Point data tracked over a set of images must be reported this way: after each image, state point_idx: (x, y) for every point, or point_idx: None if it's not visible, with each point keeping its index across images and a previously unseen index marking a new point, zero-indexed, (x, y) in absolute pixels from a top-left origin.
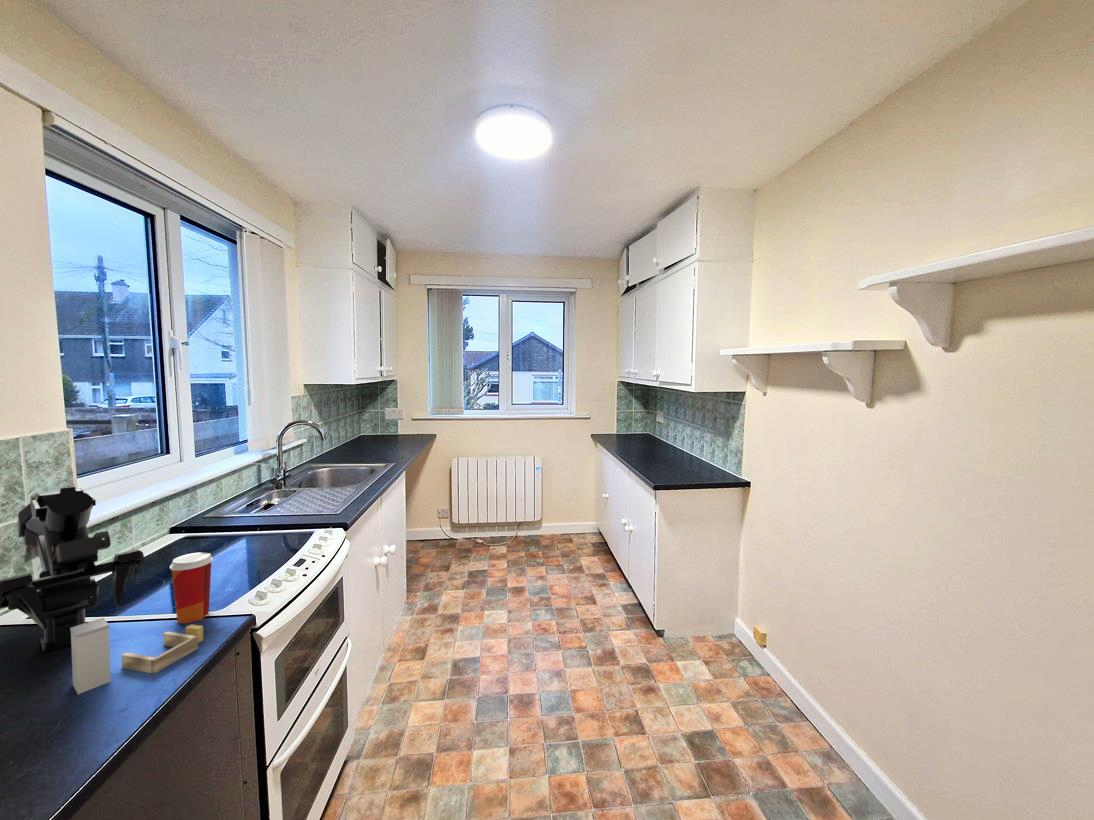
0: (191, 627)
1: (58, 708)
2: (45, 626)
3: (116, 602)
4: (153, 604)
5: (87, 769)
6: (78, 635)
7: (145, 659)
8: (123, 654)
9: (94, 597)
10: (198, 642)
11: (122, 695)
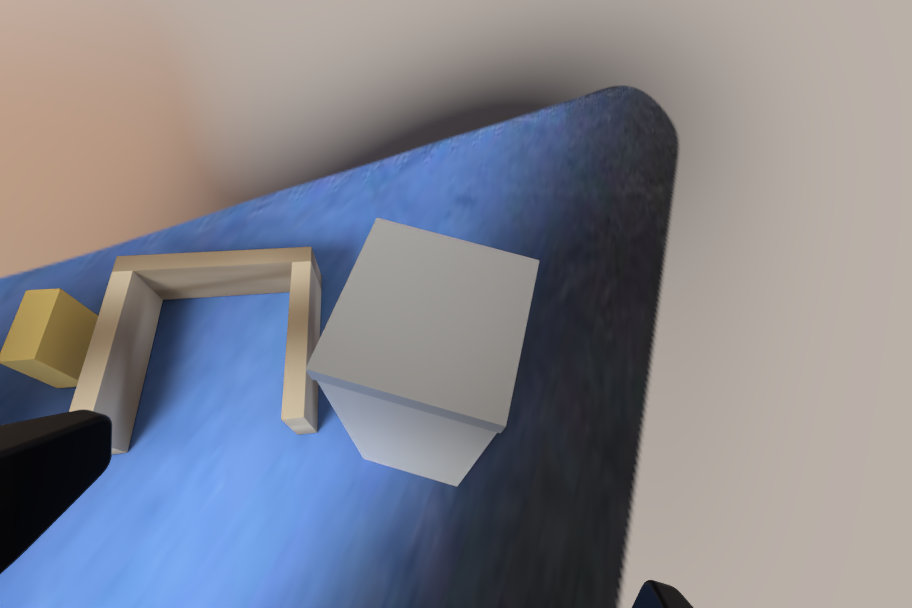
0: (39, 327)
1: (540, 369)
2: (659, 583)
3: (68, 450)
4: None
5: (585, 110)
6: (522, 262)
7: (309, 286)
8: (298, 413)
9: None
10: None
11: None
